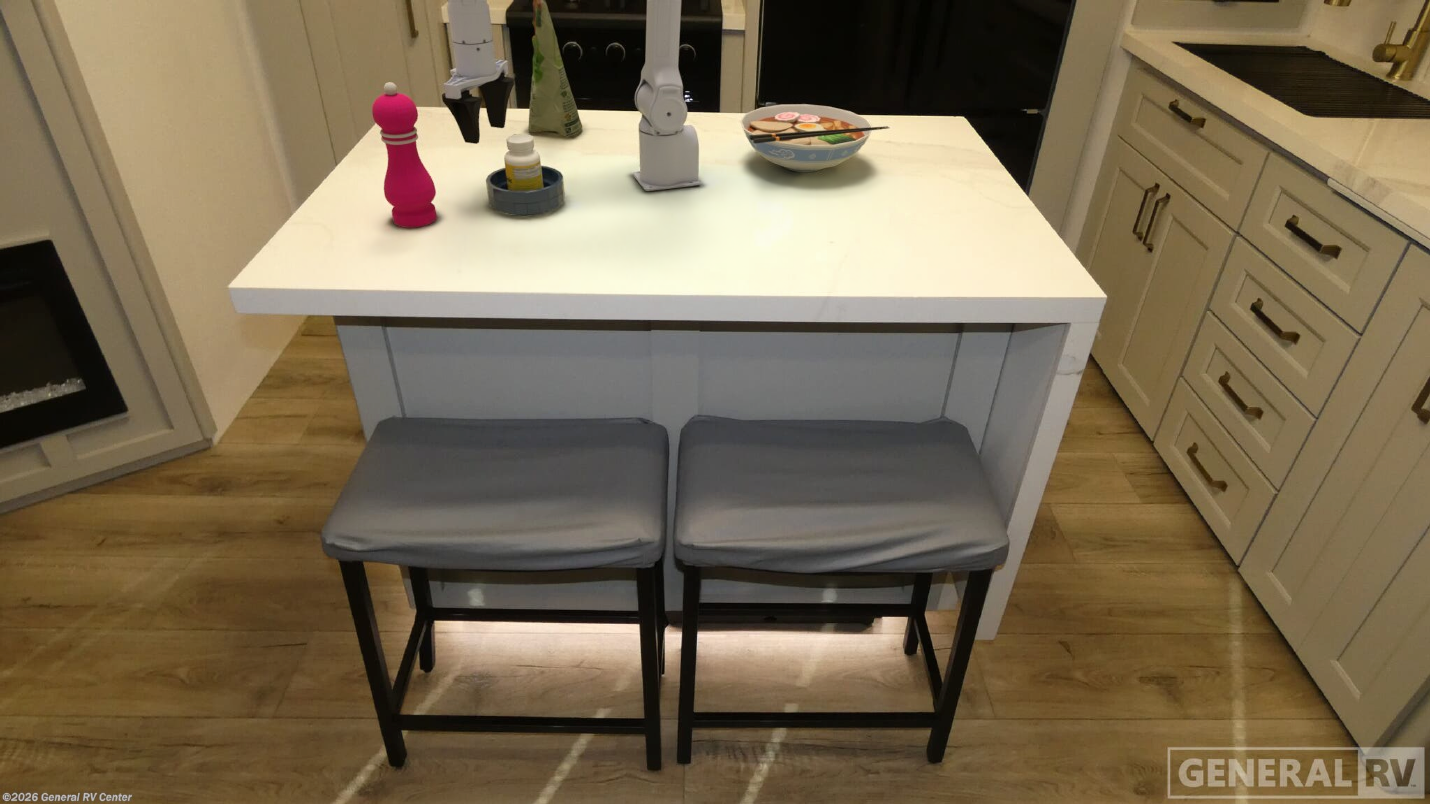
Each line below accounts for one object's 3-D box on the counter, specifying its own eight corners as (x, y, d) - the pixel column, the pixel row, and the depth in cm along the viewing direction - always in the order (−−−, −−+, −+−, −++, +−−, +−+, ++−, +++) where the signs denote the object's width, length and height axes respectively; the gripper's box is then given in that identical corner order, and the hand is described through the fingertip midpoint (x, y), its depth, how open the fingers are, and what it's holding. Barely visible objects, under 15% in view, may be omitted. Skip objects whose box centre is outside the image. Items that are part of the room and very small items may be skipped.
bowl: (556, 186, 142) (554, 161, 139) (572, 213, 133) (569, 187, 130) (484, 194, 138) (481, 168, 136) (495, 222, 129) (492, 195, 127)
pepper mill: (449, 213, 132) (427, 78, 120) (421, 232, 126) (395, 92, 114) (409, 206, 134) (383, 72, 122) (380, 224, 128) (349, 86, 116)
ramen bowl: (839, 138, 164) (844, 94, 160) (896, 181, 147) (904, 133, 142) (715, 150, 158) (716, 104, 153) (759, 196, 140) (762, 146, 135)
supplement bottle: (511, 193, 137) (503, 132, 131) (545, 193, 138) (540, 132, 132) (507, 207, 133) (499, 144, 127) (543, 206, 133) (537, 143, 128)
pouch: (557, 144, 158) (544, -4, 144) (509, 131, 163) (492, -13, 149) (596, 129, 166) (588, -14, 151) (549, 117, 171) (537, -22, 157)
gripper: (474, 26, 130) (486, 117, 138) (419, 48, 118) (435, 146, 126) (516, 31, 128) (525, 122, 136) (464, 53, 117) (478, 152, 125)
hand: (485, 134), depth 131 cm, fingers open, 7 cm apart
